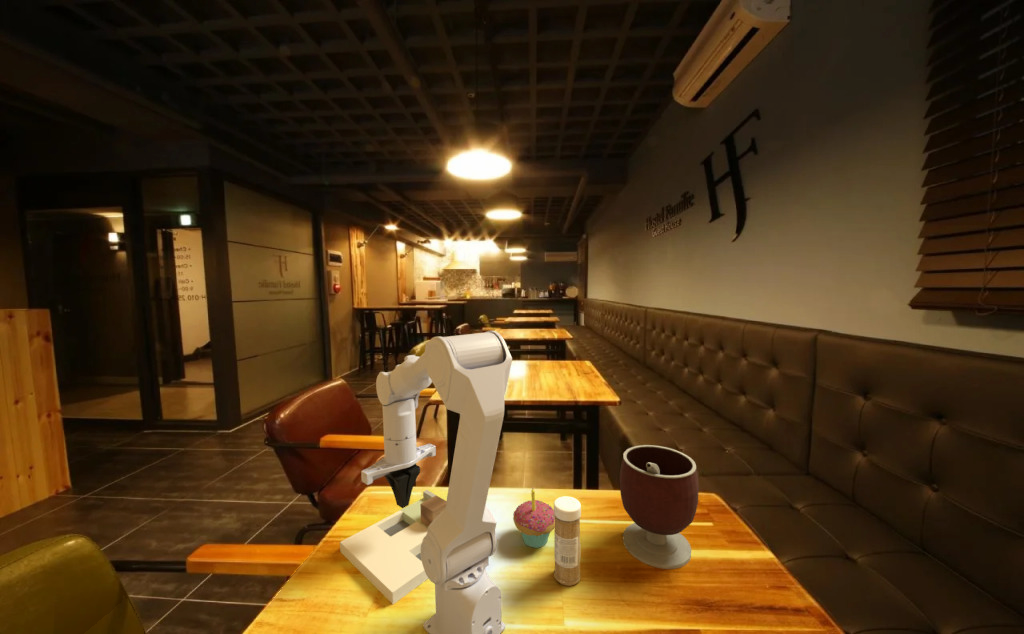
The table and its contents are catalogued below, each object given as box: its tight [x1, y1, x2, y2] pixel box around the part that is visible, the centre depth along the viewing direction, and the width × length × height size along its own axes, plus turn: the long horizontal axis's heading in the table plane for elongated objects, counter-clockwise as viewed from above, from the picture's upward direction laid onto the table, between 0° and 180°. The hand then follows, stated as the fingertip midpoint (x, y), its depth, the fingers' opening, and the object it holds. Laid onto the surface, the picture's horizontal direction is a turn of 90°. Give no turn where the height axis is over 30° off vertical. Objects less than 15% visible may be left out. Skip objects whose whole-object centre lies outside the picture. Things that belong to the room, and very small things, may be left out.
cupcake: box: [512, 486, 555, 549], centre depth 74 cm, size 9×8×12 cm
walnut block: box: [420, 494, 447, 527], centre depth 77 cm, size 4×4×4 cm
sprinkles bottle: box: [553, 495, 582, 587], centre depth 64 cm, size 5×5×14 cm
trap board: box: [339, 489, 436, 605], centre depth 73 cm, size 18×20×4 cm
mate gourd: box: [619, 444, 700, 570], centre depth 71 cm, size 16×14×20 cm
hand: (402, 504), depth 70 cm, fingers closed
